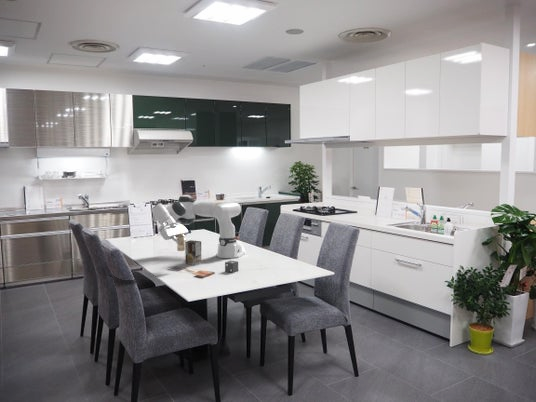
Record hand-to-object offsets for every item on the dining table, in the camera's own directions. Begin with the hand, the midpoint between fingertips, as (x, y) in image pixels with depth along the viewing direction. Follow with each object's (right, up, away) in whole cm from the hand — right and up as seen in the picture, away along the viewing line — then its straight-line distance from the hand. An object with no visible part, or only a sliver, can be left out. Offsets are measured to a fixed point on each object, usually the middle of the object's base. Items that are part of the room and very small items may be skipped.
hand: (181, 241), depth 282 cm
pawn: (-1, -5, +1) cm, 5 cm away
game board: (+5, -19, 0) cm, 20 cm away
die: (+31, -19, +4) cm, 36 cm away
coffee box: (+4, -18, +20) cm, 27 cm away
